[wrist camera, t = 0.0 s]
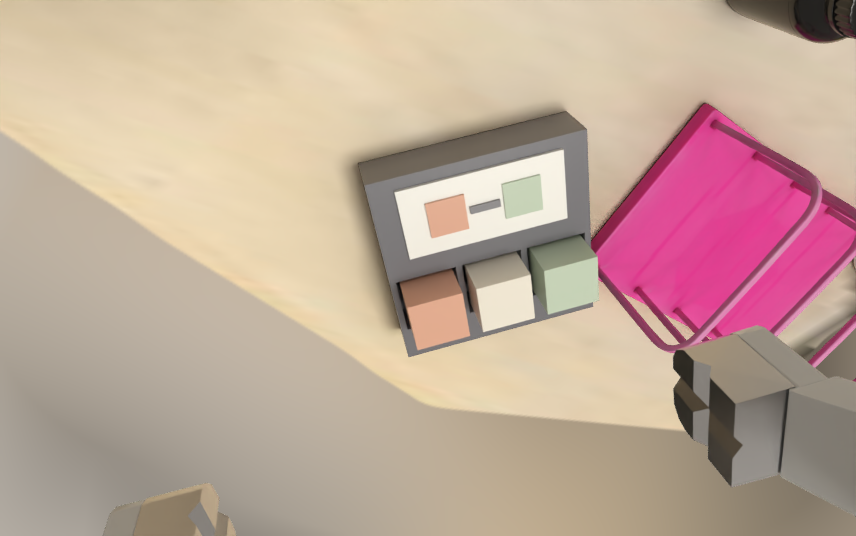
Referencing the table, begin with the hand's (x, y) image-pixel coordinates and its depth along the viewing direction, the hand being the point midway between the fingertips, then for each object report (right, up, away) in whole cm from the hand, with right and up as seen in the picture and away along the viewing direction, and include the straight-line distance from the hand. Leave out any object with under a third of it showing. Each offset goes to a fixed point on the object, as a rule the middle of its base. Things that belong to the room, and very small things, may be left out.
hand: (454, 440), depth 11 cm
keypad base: (+4, +6, +44) cm, 45 cm away
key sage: (+10, +4, +44) cm, 45 cm away
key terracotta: (0, +1, +43) cm, 43 cm away
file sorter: (+28, +6, +51) cm, 58 cm away
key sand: (+5, +2, +43) cm, 43 cm away
